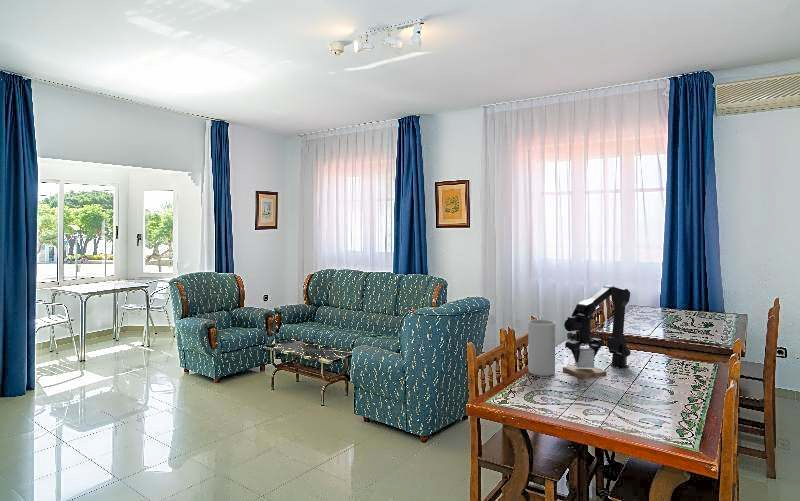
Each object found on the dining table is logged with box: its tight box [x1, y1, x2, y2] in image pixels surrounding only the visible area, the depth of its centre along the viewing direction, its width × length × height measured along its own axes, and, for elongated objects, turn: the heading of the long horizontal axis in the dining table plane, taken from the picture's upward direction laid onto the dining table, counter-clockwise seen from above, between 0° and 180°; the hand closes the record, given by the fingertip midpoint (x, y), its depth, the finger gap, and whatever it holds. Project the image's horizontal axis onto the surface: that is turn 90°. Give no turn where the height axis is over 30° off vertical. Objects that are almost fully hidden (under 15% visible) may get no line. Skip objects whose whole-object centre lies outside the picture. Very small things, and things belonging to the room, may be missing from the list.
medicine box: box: [574, 347, 595, 368], centre depth 233 cm, size 8×4×9 cm, turn 85°
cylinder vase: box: [527, 318, 556, 377], centre depth 235 cm, size 12×12×25 cm
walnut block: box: [562, 364, 608, 380], centre depth 233 cm, size 14×14×2 cm
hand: (584, 361), depth 233 cm, fingers closed on medicine box, 9 cm apart
